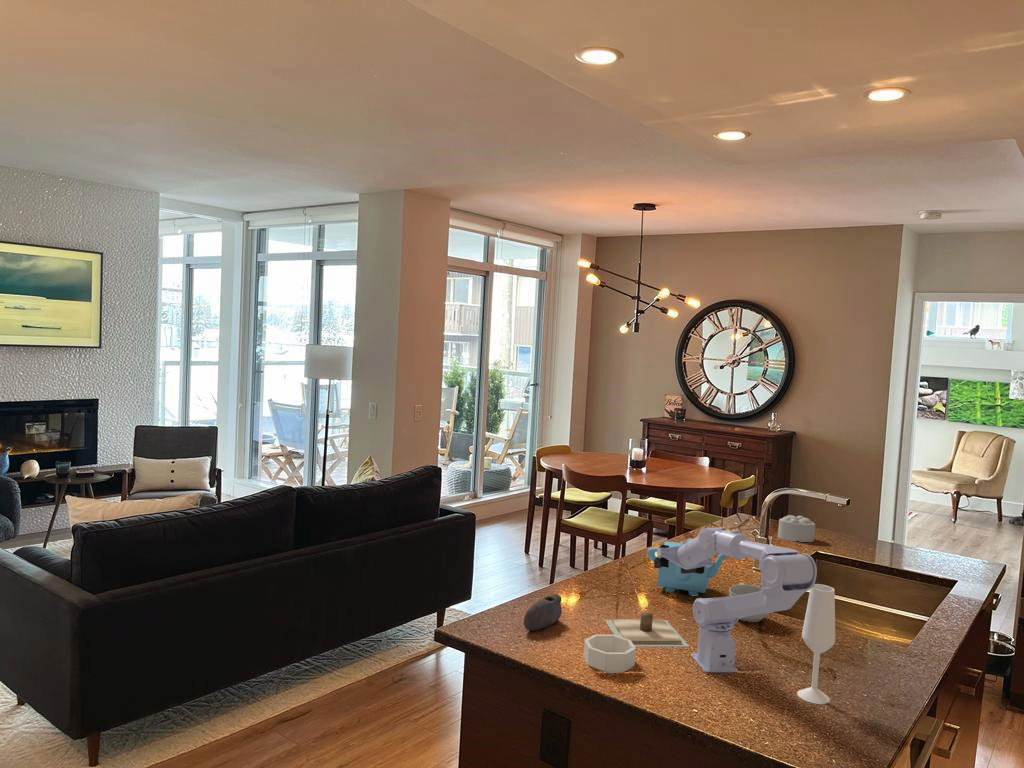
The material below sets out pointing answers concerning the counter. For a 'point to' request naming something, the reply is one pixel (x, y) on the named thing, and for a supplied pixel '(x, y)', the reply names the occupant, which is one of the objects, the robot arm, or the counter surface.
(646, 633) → the cover
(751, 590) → the teacup
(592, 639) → the bowl
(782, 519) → the lumpy-topped squat cylinder
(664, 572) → the teakettle
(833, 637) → the champagne flute
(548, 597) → the perforated stone tool
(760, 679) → the counter surface
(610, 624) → the mat
